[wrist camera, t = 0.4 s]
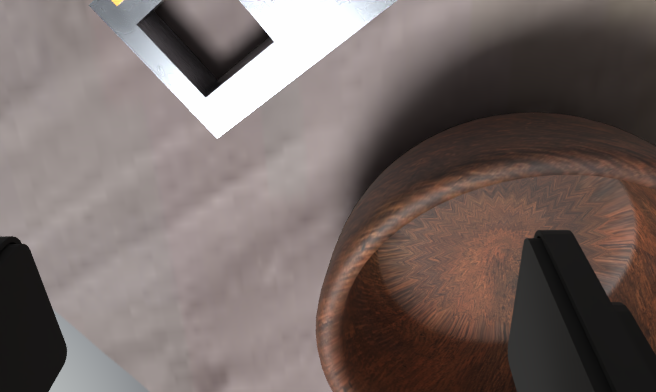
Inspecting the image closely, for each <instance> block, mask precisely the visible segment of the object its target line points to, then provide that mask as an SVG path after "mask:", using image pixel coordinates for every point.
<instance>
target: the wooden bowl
mask: <svg viewBox="0 0 656 392" xmlns="http://www.w3.org/2000/svg"><path fill="white" fill-rule="evenodd" d="M537 230H570V231H571V232H572V233H573V234H574V236H575V238H576V240H577V242H578V243H579V245H580V247H581V249H582V251H583V252H584V254H585V256H586V258H587V260H588V261H589V263H590V265H591V267H592V269H593V270H594V272H595V274H596V276H597V278H598V279H599V281H600V283H601V285H602V287H603V288H604V290H605V292H606V294H607V296H608V298H609V299H610V301H611V302H621V303H623V304H624V305H626V307H627V308H628V309H629V310H630V312H631V313H632V315H633V317H634V319H635V320H636V322H637V324H638V325H639V327H640V329H641V331H642V332H643V334H644V336H645V337H646V339H647V341H648V343H649V344H650V346H651V348H652V349H653V351H654V353H655V355H656V146H654V145H653V144H651V143H649V142H647V141H645V140H643V139H641V138H639V137H636V136H634V135H632V134H630V133H628V132H626V131H623V130H621V129H618V128H615V127H613V126H610V125H607V124H604V123H600V122H596V121H592V120H589V119H585V118H581V117H577V116H570V115H564V114H557V113H541V112H532V113H513V114H504V115H496V116H491V117H486V118H481V119H477V120H473V121H470V122H467V123H463V124H460V125H457V126H455V127H452V128H450V129H447V130H445V131H442V132H440V133H438V134H436V135H434V136H432V137H430V138H428V139H427V140H425V141H423V142H422V143H420V144H418V145H417V146H415V147H413V148H412V149H410V150H409V151H407V152H406V153H405V154H403V155H402V156H401V157H399V158H398V159H397V160H395V161H394V162H393V163H392V164H391V165H390V166H389V167H388V168H386V169H385V170H384V171H383V172H382V173H381V174H380V175H379V176H378V178H377V179H376V180H375V181H374V182H373V183H372V184H371V185H370V187H369V188H368V189H367V191H366V192H365V193H364V195H363V196H362V197H361V199H360V200H359V201H358V203H357V204H356V206H355V208H354V209H353V211H352V213H351V214H350V216H349V218H348V220H347V222H346V224H345V226H344V228H343V230H342V232H341V234H340V237H339V239H338V241H337V244H336V246H335V249H334V251H333V254H332V257H331V260H330V264H329V267H328V270H327V273H326V276H325V279H324V283H323V286H322V289H321V294H320V298H319V304H318V310H317V316H316V339H317V348H318V352H319V357H320V361H321V365H322V369H323V371H324V374H325V376H326V379H327V381H328V383H329V385H330V387H331V389H332V391H333V392H517V390H516V387H515V383H514V380H513V376H512V373H511V369H510V366H509V361H508V341H509V334H510V328H511V321H512V314H513V308H514V301H515V295H516V288H517V282H518V275H519V268H520V262H521V255H522V249H523V243H524V240H525V239H526V238H534V234H535V232H536V231H537Z"/></svg>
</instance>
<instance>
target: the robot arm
mask: <svg viewBox="0 0 656 392" xmlns="http://www.w3.org/2000/svg"><path fill="white" fill-rule="evenodd" d="M66 356H67V347H66V343H65V341H64V338H63V335H62V333H61V330H60V328H59V325H58V322H57V320H56V317H55V314H54V312H53V309H52V306H51V304H50V301H49V298H48V296H47V293H46V291H45V288H44V285H43V283H42V280H41V277H40V275H39V272H38V269H37V267H36V264H35V262H34V259H33V256H32V254H31V251H30V249H29V247H28V246H27V245H25V244H22V243H21V241H20V240H19V239H18V238H16V237H13V236H11V237H0V392H48V391H49V390H50V388H51V386H52V384H53V383H54V381H55V379H56V377H57V376H58V374H59V372H60V370H61V369H62V367H63V365H64V363H65V360H66ZM508 361H509V366H510V369H511V373H512V376H513V380H514V383H515V387H516V390H517V392H656V355H655V353H654V351H653V349H652V348H651V346H650V344H649V343H648V341H647V339H646V337H645V336H644V334H643V332H642V331H641V329H640V327H639V325H638V324H637V322H636V320H635V319H634V317H633V315H632V313H631V312H630V310H629V309H628V308H627V307H626V305H624V304H623V303H621V302H611V301H610V299H609V298H608V296H607V294H606V292H605V290H604V288H603V287H602V285H601V283H600V281H599V279H598V278H597V276H596V274H595V272H594V270H593V269H592V267H591V265H590V263H589V261H588V260H587V258H586V256H585V254H584V252H583V251H582V249H581V247H580V245H579V243H578V242H577V240H576V238H575V236H574V234H573V233H572V232H571V231H570V230H537V231H536V232H535V234H534V238H526V239H525V240H524V243H523V249H522V255H521V262H520V268H519V275H518V282H517V288H516V295H515V301H514V308H513V314H512V321H511V328H510V334H509V341H508Z"/></svg>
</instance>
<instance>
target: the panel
mask: <svg viewBox="0 0 656 392" xmlns="http://www.w3.org/2000/svg"><path fill="white" fill-rule="evenodd" d="M164 1H165V0H94V1H93V2H92V3H91V4H90V5H89V6H90V7H91V8H92V9H93V10H94V11H95V12H96V13H97V14H98V15H99V16H100V17H101V19H102V20H103V21H104V22H105V23H106V24H107V25H108V26H109V27H110V28H111V29H112V30H113V31H114V32H115V33H116V34H117V35H118V36H119V37H120V38H121V39H122V40H123V41H124V42H125V43H126V44H127V46H128V47H129V48H130V49H131V50H132V51H133V52H134V53H135V54H136V55H137V56H138V57H139V58H140V59H141V60H142V61H143V62H144V63H145V64H146V65H147V66H148V67H149V68H150V69H151V70H152V71H153V73H154V74H155V75H156V76H157V77H158V78H159V79H160V80H161V81H162V82H163V83H164V84H165V85H166V86H167V87H168V88H169V89H170V90H171V91H172V92H173V93H174V94H175V95H176V96H177V97H178V98H179V100H180V101H181V102H182V103H183V104H184V105H185V106H186V107H187V108H188V109H189V110H190V111H191V112H192V113H193V114H194V115H195V116H196V117H197V118H198V119H199V120H200V121H201V122H202V123H203V124H204V125H205V127H206V128H207V129H208V130H209V131H210V132H211V133H212V134H213V135H214V136H215V137H216V138H219V137H220V136H221V135H223V134H224V133H225V132H227V131H228V130H229V129H231V128H232V127H233V126H234V125H236V124H237V123H238V122H240V121H241V120H242V119H244V118H245V117H246V116H247V115H249V114H250V113H251V112H253V111H254V110H255V109H257V108H258V107H259V106H260V105H262V104H263V103H264V102H266V101H267V100H268V99H270V98H271V97H272V96H273V95H275V94H276V93H277V92H279V91H280V90H281V89H283V88H284V87H285V86H286V85H288V84H289V83H290V82H292V81H293V80H294V79H296V78H297V77H298V76H299V75H301V74H302V73H303V72H305V71H306V70H307V69H309V68H310V67H311V66H312V65H314V64H315V63H316V62H318V61H319V60H320V59H322V58H323V57H324V56H326V55H327V54H328V53H329V52H331V51H332V50H333V49H335V48H336V47H337V46H339V45H340V44H341V43H342V42H344V41H345V40H346V39H348V38H349V37H350V36H352V35H353V34H354V33H355V32H357V31H358V30H359V29H361V28H362V27H363V26H365V25H366V24H367V23H368V22H370V21H371V20H372V19H374V18H375V17H376V16H378V15H379V14H380V13H381V12H383V11H384V10H385V9H387V8H388V7H389V6H391V5H392V4H393V3H394V2H396V1H397V0H240V1H241V3H242V4H243V5H244V6H245V7H246V9H247V10H248V11H249V12H250V13H251V15H252V16H253V17H254V18H255V19H256V21H257V22H258V23H259V24H260V25H261V26H262V28H263V29H264V30H265V31H266V32H267V34H268V35H269V36H270V37H269V38H268V39H266V40H265V41H264V42H263V43H262V44H260V45H259V46H258V47H257V48H255V49H254V50H253V51H252V52H251V53H249V54H248V55H247V56H246V57H245V58H243V59H242V60H241V61H240V62H238V63H237V64H236V65H235V66H234V67H232V68H231V69H230V70H229V71H227V72H226V73H225V74H224V75H223V76H221V77H220V78H219V79H218V80H217V79H216V78H215V77H214V76H213V75H212V74H211V73H210V72H209V70H208V69H207V68H206V67H205V66H204V65H203V64H202V63H201V62H200V61H199V60H198V58H197V57H196V56H195V55H194V54H193V53H192V52H191V51H190V50H189V49H188V48H187V46H186V45H185V44H184V43H183V42H182V41H181V40H180V39H179V38H178V37H177V36H176V34H175V33H174V32H173V31H172V30H171V29H170V28H169V27H168V26H167V25H166V24H165V22H164V21H163V20H162V19H161V18H160V17H159V16H158V15H157V14H156V13H155V11H154V10H155V9H156V8H157V7H158V6H159V5H160V4H161V3H162V2H164Z"/></svg>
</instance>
